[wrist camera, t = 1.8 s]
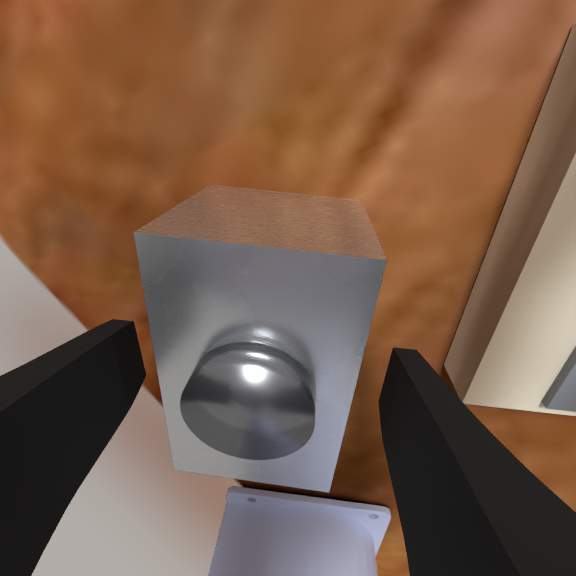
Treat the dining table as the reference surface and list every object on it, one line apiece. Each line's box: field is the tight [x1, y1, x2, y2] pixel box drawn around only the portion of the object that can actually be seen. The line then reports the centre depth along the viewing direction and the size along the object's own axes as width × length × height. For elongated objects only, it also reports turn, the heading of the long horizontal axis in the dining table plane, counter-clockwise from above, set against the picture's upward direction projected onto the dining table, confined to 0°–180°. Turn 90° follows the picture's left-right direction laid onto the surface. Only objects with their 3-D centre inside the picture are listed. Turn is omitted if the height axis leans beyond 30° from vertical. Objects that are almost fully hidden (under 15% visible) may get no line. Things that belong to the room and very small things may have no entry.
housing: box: [134, 185, 387, 493], centre depth 10 cm, size 5×8×6 cm, turn 176°
